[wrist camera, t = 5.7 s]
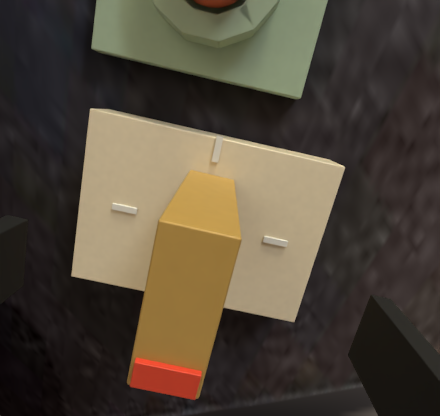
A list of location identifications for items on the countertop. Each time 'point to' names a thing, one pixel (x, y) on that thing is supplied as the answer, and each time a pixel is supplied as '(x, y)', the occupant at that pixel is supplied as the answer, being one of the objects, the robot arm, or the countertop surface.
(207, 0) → the bell button
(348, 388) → the countertop surface
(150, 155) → the plate
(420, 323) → the countertop surface
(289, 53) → the green push button box
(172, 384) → the thumbturn
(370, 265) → the countertop surface
